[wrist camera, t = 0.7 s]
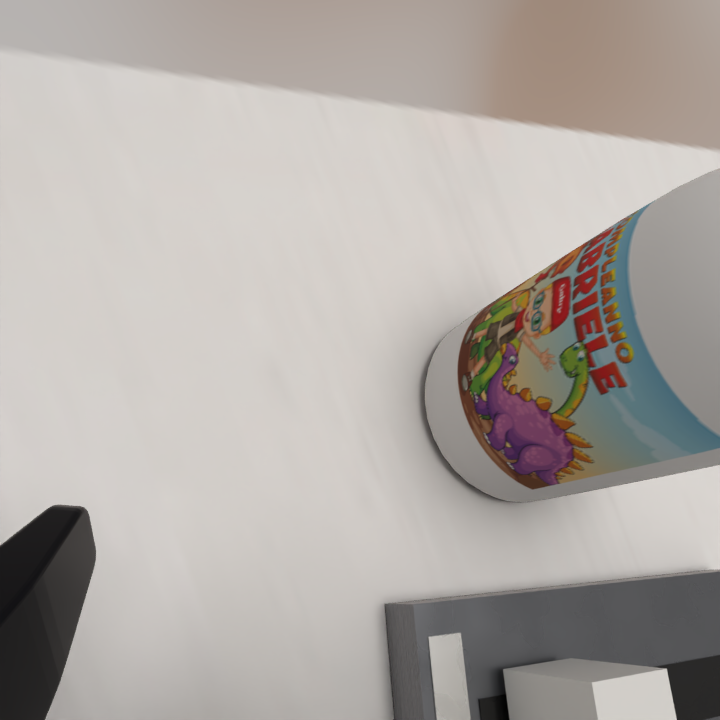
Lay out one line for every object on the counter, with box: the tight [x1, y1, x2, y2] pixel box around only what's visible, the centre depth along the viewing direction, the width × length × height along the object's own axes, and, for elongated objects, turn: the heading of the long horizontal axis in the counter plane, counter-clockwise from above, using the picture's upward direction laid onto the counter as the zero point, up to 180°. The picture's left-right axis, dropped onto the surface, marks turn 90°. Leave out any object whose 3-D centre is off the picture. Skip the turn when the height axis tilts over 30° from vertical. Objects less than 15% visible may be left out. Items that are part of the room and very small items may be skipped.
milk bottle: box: [425, 169, 720, 502], centre depth 19 cm, size 8×8×20 cm
